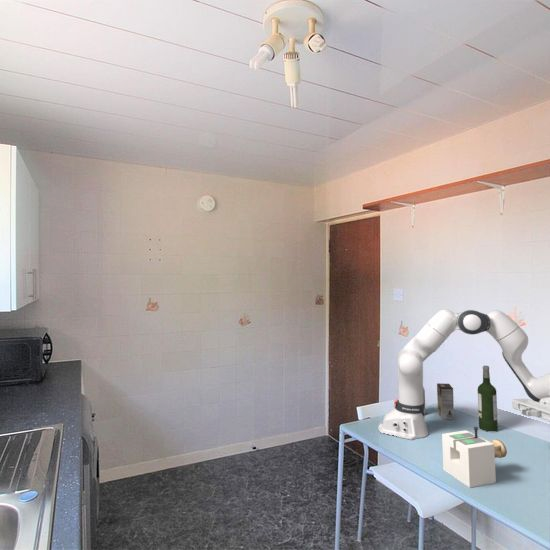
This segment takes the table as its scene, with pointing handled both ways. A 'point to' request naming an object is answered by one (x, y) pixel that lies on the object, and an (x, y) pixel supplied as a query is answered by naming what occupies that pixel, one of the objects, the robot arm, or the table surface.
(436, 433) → the table surface
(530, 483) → the table surface
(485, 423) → the wine bottle
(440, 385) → the coffee box
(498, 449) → the peg
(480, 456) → the tuner housing
